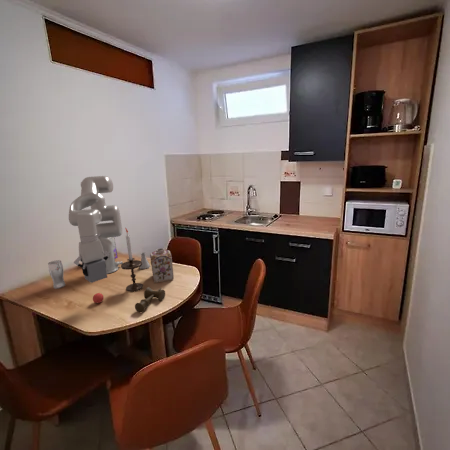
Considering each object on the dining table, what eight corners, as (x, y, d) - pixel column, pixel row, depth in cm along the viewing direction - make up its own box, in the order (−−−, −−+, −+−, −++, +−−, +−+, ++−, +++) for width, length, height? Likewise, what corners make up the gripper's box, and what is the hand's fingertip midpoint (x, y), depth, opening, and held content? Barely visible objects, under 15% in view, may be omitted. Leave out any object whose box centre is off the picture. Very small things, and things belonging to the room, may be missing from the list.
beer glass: (60, 289, 156) (55, 264, 152) (49, 288, 157) (44, 264, 154) (69, 283, 163) (64, 260, 159) (59, 283, 164) (54, 259, 160)
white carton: (113, 256, 207) (110, 235, 203) (118, 257, 203) (114, 236, 199) (96, 262, 196) (92, 240, 192) (100, 264, 192) (96, 241, 188)
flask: (140, 265, 186) (138, 251, 184) (151, 264, 187) (149, 250, 184) (138, 269, 179) (136, 255, 177) (149, 269, 180) (147, 254, 177)
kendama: (130, 312, 130) (154, 291, 148) (148, 316, 127) (169, 294, 145) (129, 301, 128) (152, 281, 146) (146, 304, 125) (168, 284, 143)
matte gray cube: (100, 273, 140) (97, 257, 138) (107, 277, 135) (104, 260, 133) (84, 278, 135) (81, 261, 132) (91, 282, 129) (88, 265, 127)
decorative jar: (171, 272, 172) (168, 245, 168) (174, 279, 162) (171, 250, 157) (152, 275, 169) (148, 247, 165) (153, 283, 158) (150, 253, 154)
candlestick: (120, 289, 152) (111, 228, 144) (137, 282, 161) (129, 224, 152) (132, 294, 146) (123, 231, 138) (148, 286, 154) (141, 226, 146)
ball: (106, 298, 138) (104, 302, 141) (102, 290, 139) (100, 293, 143) (96, 302, 134) (94, 306, 138) (92, 293, 136) (90, 297, 139)
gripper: (104, 232, 138) (109, 265, 143) (66, 241, 126) (73, 276, 130) (110, 235, 133) (115, 268, 138) (72, 244, 121) (79, 281, 125)
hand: (95, 272), depth 134 cm, fingers closed on matte gray cube, 7 cm apart
